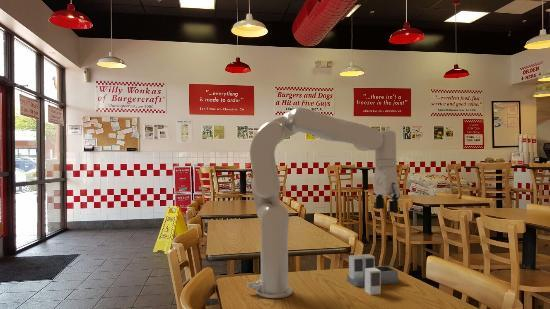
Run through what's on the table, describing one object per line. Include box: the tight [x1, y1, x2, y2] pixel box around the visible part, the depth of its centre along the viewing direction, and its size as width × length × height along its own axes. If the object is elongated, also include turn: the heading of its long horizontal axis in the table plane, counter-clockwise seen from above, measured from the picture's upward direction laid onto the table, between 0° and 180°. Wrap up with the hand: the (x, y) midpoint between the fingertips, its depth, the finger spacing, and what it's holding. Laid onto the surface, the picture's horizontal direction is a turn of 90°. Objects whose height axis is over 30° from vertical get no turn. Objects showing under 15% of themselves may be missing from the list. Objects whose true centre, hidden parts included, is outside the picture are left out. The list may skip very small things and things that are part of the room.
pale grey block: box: [364, 268, 382, 296], centre depth 141 cm, size 4×4×8 cm
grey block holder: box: [346, 253, 400, 288], centre depth 153 cm, size 17×8×10 cm, turn 104°
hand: (386, 210), depth 150 cm, fingers open, 9 cm apart
